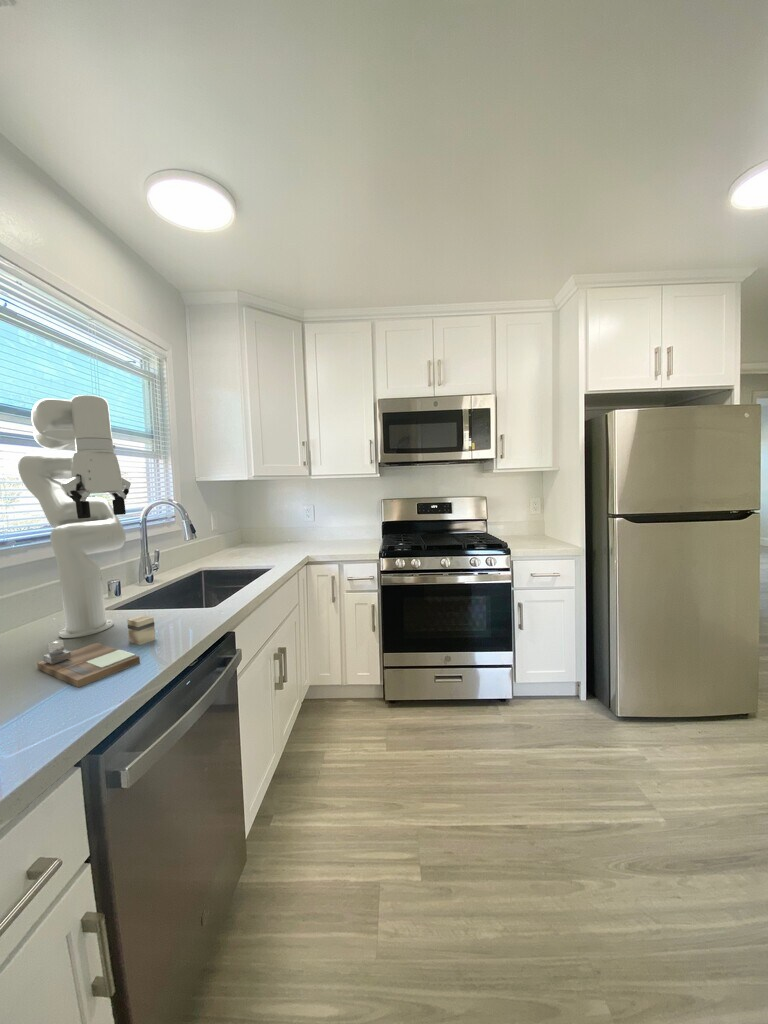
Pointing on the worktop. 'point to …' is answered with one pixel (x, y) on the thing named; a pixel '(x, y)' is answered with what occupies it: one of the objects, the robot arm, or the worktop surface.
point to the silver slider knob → (56, 652)
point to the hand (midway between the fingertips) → (102, 516)
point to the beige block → (141, 629)
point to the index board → (85, 665)
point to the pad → (110, 658)
